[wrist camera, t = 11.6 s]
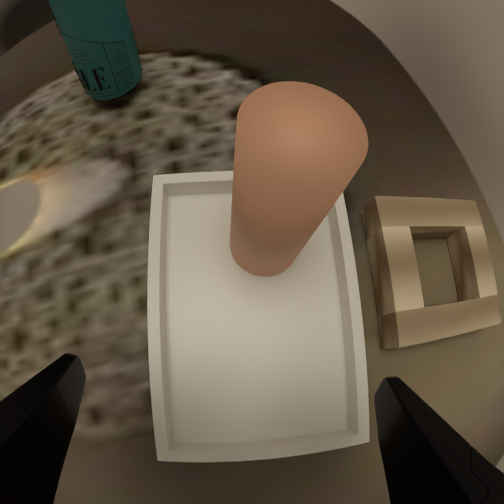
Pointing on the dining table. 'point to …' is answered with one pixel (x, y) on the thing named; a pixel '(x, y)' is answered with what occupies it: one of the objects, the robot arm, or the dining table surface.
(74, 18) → the beverage bottle
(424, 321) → the holder
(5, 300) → the dining table surface
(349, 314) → the tray
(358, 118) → the dowel
